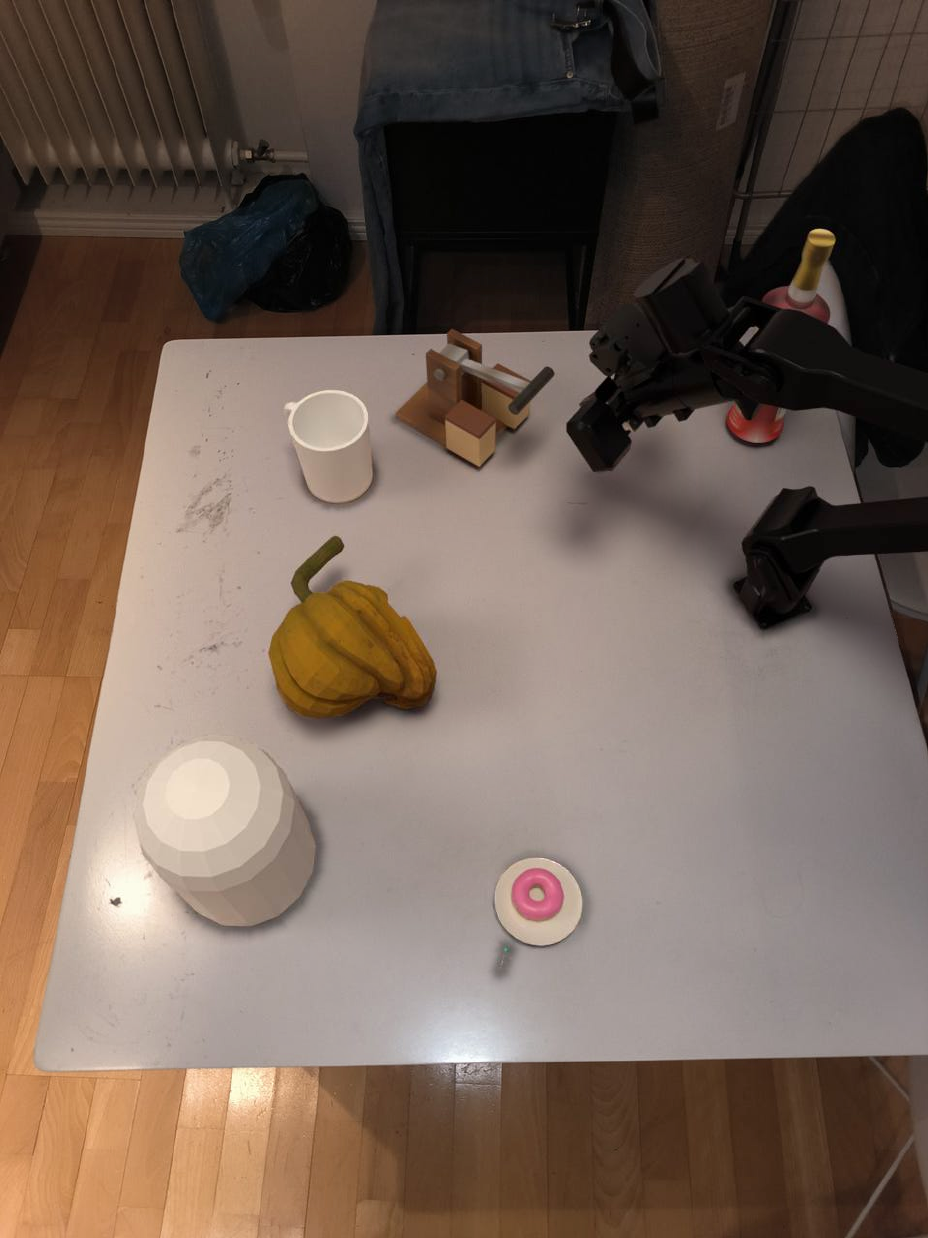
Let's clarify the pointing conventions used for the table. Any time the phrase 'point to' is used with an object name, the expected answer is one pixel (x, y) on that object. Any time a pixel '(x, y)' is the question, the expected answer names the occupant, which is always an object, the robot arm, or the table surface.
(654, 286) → the robot arm
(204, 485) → the table surface
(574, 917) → the donut on plate
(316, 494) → the mug
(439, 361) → the slicer
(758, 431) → the liquor
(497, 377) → the blade lever
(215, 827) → the container
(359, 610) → the pumpkin
